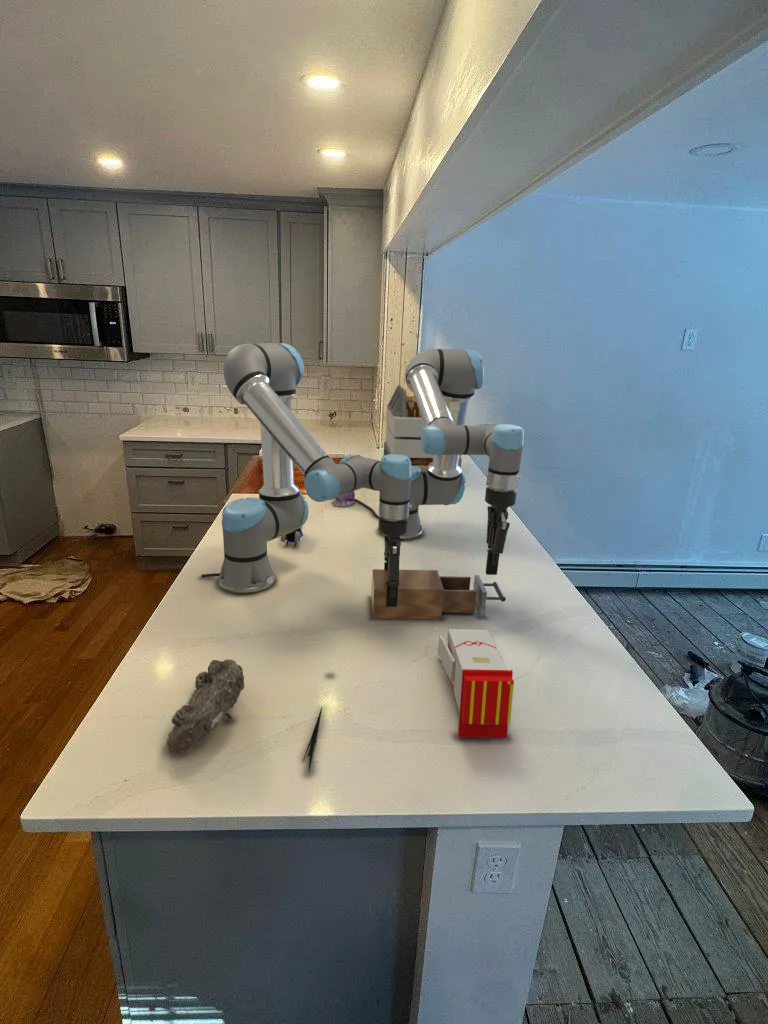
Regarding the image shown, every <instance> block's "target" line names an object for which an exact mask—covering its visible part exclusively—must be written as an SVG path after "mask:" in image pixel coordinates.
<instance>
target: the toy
mask: <svg viewBox="0 0 768 1024" xmlns="http://www.w3.org/2000/svg"><path fill="white" fill-rule="evenodd" d="M446 640H447V643H446V641H445V639H444V636H443V635H442V634H439V637H438V646H437V656H438V657H439V659H440V661H441V663H442V666H443V668H444V670H445V672H446V674H447V677H448V679H449V681H450V684H451V687H452V690H453V693H454V697H455V701H456V705H457V708H458V711H459V714H458V715H459V716H458V730H457V731H458V732H457V737H458V738H508V731H509V726H510V725H511V717H512V707H513V697H514V696H513V695H514V684H515V680H514V679H513V673H514V671H513V670H512V669H508V667H507V665H506V662H505V661H504V659H503V658H502V655H501V653H500V651H499V649H498V647H497V643H496V639H495V637H494V635H493V634H491V632H490V631H489V629H467V628H466V629H465V628H463V629H461V628H460V629H459V628H448V630H447V639H446Z"/></svg>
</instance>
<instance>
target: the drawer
mask: <svg viewBox="0 0 768 1024" xmlns="http://www.w3.org/2000/svg"><path fill="white" fill-rule="evenodd" d="M439 577H440V580H441V583H442V586H443V589H444V594H443V605H442V613H465V614H466V613H468V614H469V613H470V614H471V613H473V614H474V613H475V612H476V609H477V611H478V614H479V616H485V614H486V607H487V606H486V605H487V601H500V602H502V603H504V602H506V600H507V598H506V596H505V594H504V592H503V590H502V588H501V586H500V585H499V583H498V582H497V581H492V583H491V582H487V583H486V582H483V581H482V579H481V577H480V575H479V574H474V577H473V584H472V585H473V586H472V589H471V579H472V577H471V576H451V575H450V576H449V575H448V576H447V575H444V576H443V575H439ZM486 587H493V589H494V590H495V592H496V594H497V596H488V591H487V589H486Z"/></svg>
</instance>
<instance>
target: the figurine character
mask: <svg viewBox="0 0 768 1024" xmlns="http://www.w3.org/2000/svg"><path fill="white" fill-rule="evenodd" d="M303 536H304V533H303V526H302V527H301V528H299V529H297V530H296V531H294V532H292V533H288V534H286V535H283V536H281V537H280V542H282V543H285V547H288V546H289V543H291V544H292V543H293V544H294V545H293V546H294V547H297V545H298V543H299V542H301V538H302V537H303Z"/></svg>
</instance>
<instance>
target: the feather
mask: <svg viewBox="0 0 768 1024" xmlns="http://www.w3.org/2000/svg"><path fill="white" fill-rule="evenodd" d="M329 675H330V676H331V675H332V674H331V673H330V674H329ZM322 710H323V707H321V708H320V710H319V713H318V716H317V719H316V723H315V725H314V728H313V731H312V733H311V737H310V739H309V742H308V745H307V748H306V751H305V754H304V757H303V760H302V763H301V767H302V765H303V763H304V761H305V758H308V759H309V760H308V762H307V763H308V764H307V766H308V771H310V770H311V766H312V765H311V764H312V760H313V757H315V756H314V755H315V751H316V749H315V746H317V739H318V733H319V729H320V722H321V717H322V712H323V711H322ZM313 754H314V755H313ZM306 755H307V757H306Z"/></svg>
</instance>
